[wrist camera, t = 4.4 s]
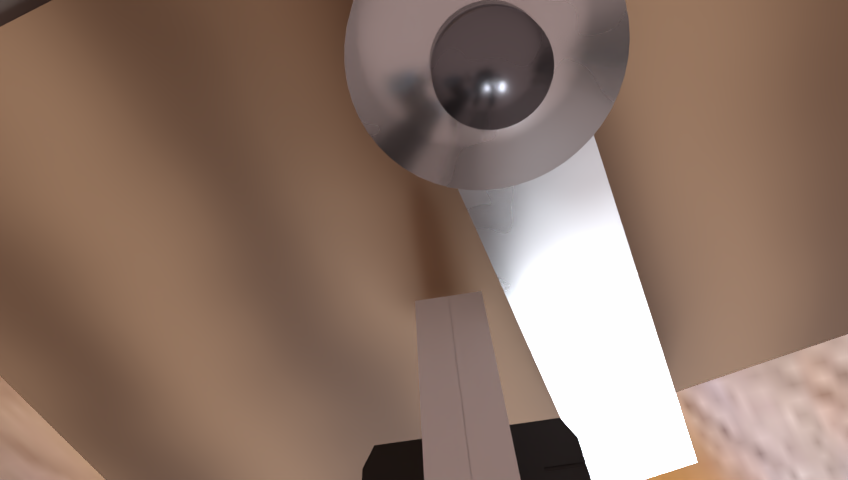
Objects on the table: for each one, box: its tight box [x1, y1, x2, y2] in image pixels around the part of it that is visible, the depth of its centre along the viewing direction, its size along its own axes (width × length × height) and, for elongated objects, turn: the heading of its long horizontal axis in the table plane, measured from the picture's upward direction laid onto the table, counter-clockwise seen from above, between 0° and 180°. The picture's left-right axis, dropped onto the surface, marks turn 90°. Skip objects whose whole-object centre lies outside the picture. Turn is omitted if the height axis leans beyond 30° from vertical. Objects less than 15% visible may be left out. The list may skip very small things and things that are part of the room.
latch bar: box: [344, 0, 697, 480], centre depth 13 cm, size 14×4×3 cm, turn 23°
